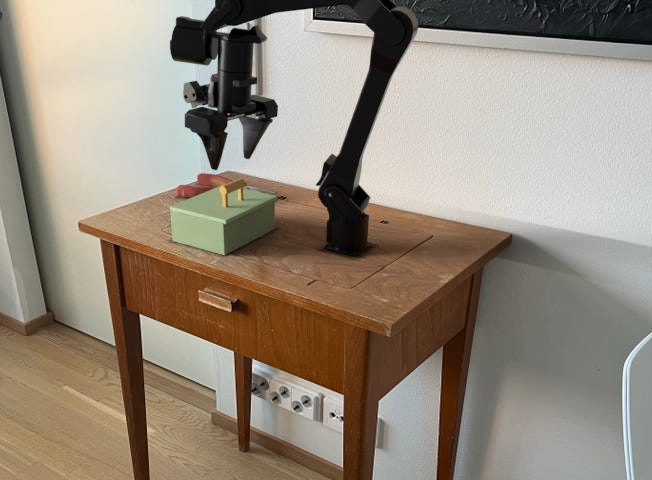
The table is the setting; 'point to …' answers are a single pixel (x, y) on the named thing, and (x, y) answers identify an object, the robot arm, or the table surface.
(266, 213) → the box
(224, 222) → the lid
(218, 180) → the pliers
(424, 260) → the table surface
